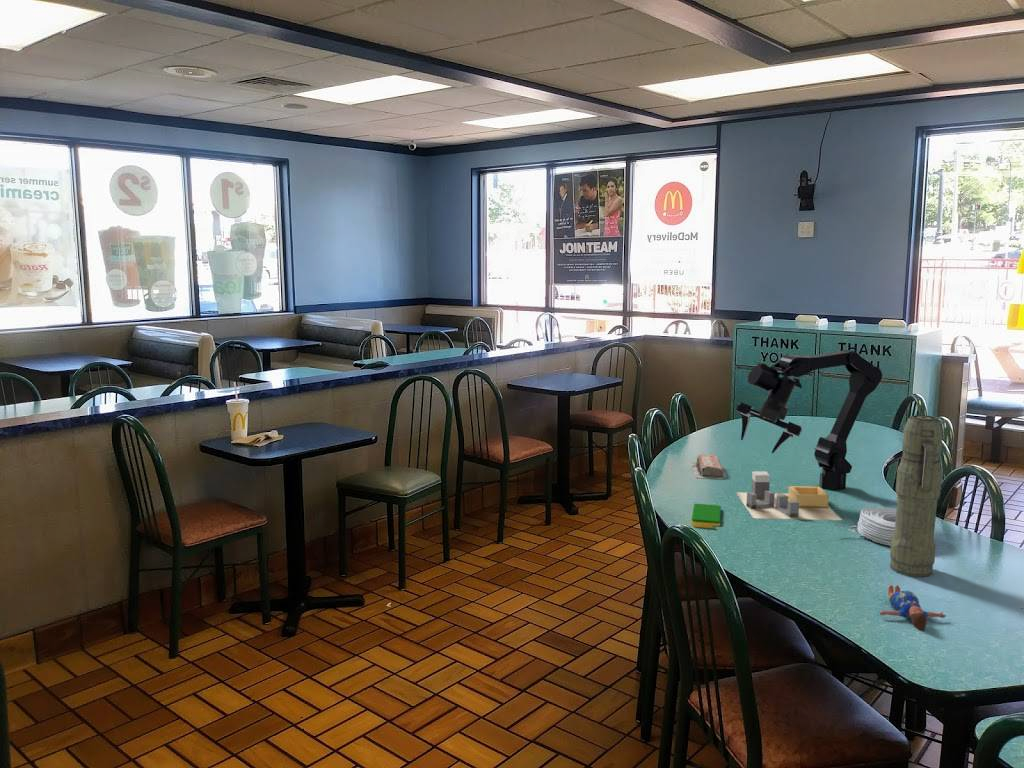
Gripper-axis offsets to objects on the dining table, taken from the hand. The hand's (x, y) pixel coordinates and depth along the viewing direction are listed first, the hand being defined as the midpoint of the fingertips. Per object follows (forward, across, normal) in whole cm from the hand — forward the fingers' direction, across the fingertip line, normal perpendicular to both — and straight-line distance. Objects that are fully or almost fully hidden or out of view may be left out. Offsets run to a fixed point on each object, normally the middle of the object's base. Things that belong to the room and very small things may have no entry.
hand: (756, 446), depth 233 cm
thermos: (+12, +44, -38) cm, 59 cm away
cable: (+8, +41, -17) cm, 45 cm away
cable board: (+12, +14, -4) cm, 19 cm away
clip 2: (+13, +15, -10) cm, 22 cm away
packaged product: (+15, -12, +23) cm, 30 cm away
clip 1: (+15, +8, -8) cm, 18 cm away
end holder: (+9, +19, 0) cm, 21 cm away
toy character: (+19, +44, -62) cm, 78 cm away
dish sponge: (+24, -2, -20) cm, 31 cm away
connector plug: (+13, +6, +1) cm, 14 cm away
